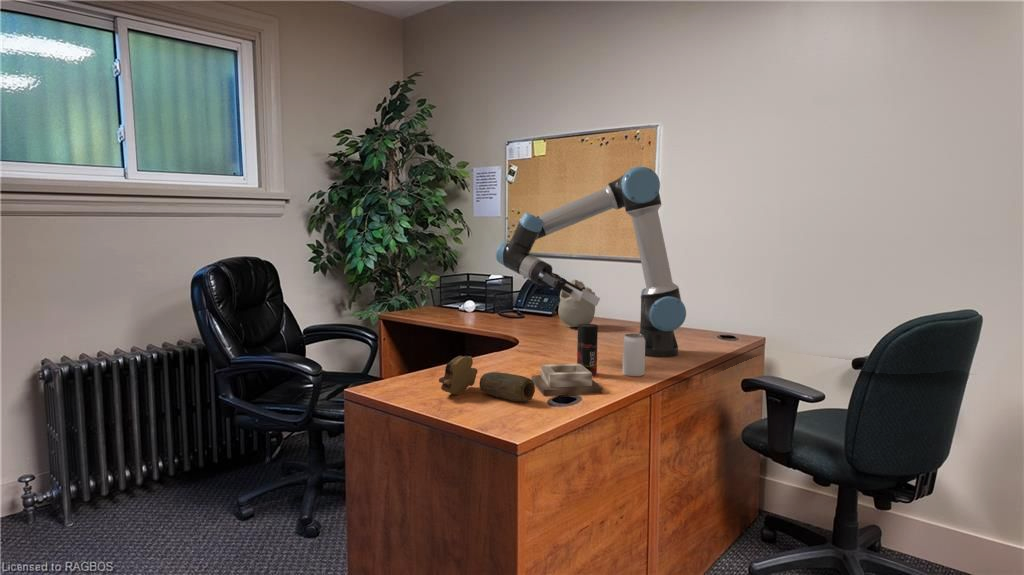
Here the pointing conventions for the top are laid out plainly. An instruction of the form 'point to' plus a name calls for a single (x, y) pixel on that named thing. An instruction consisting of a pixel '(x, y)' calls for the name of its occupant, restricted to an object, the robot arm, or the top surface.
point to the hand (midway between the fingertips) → (590, 299)
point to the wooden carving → (458, 375)
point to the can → (634, 355)
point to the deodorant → (587, 347)
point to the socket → (565, 380)
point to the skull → (576, 308)
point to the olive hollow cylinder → (507, 386)
